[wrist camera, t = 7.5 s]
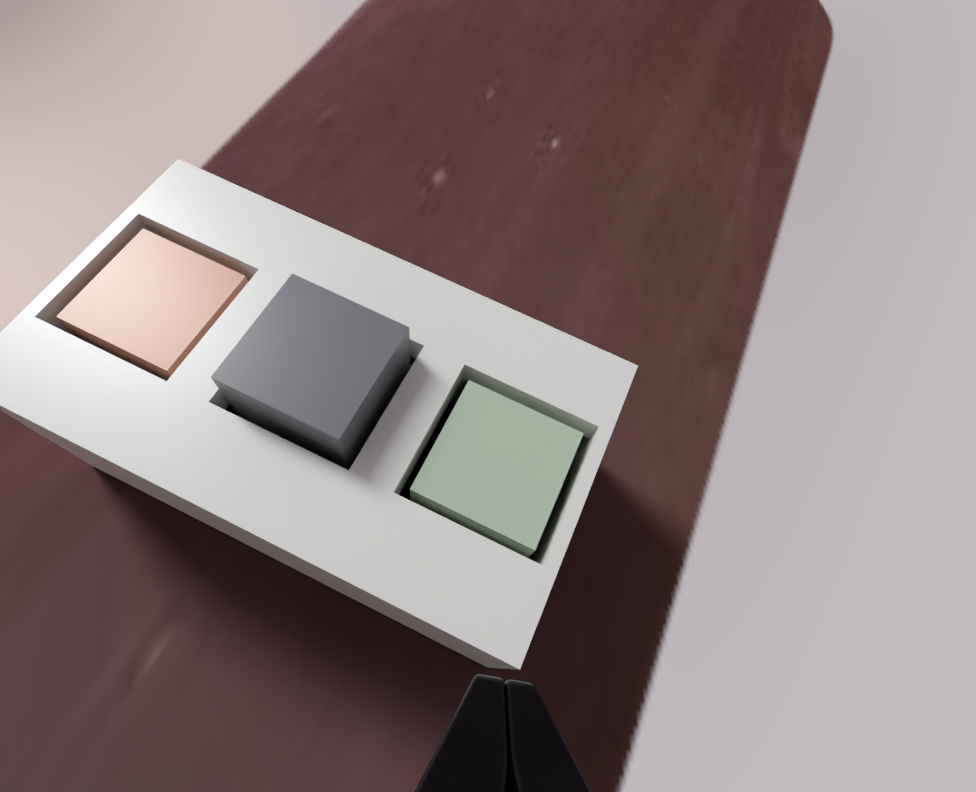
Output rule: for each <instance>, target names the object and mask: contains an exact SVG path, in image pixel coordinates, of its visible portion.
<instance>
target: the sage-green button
mask: <svg viewBox="0 0 976 792" xmlns="http://www.w3.org/2000/svg"><path fill="white" fill-rule="evenodd" d="M583 434H584V433H582V432H580V431H578V430H576V429H574V428H571V427H569V426H567V425H565V424H563V423H561V422H559V421H556V420H554V419H552V418H550V417H548V416H546V415H544V414H541V413H539V412H537V411H535V410H533V409H531V408H528V407H526V406H524V405H522V404H520V403H518V402H516V401H513V400H511V399H509V398H507V397H505V396H503V395H500V394H498V393H496V392H494V391H492V390H490V389H488V388H485V387H483V386H481V385H479V384H477V383H475V382H473V381H470V380H469V381H468V382H467V384H466V386H465V388H464V390H463V392H462V394H461V395H460V397H459V399H458V401H457V403H456V405H455V406H454V408H453V410H452V412H451V414H450V416H449V418H448V419H447V421H446V423H445V425H444V427H443V429H442V430H441V432H440V434H439V436H438V438H437V440H436V442H435V443H434V445H433V447H432V449H431V451H430V453H429V454H428V456H427V458H426V460H425V462H424V464H423V466H422V467H421V469H420V471H419V473H418V475H417V477H416V478H415V480H414V482H413V484H412V486H411V488H410V501H412V502H414V503H416V504H418V505H420V506H422V507H424V508H426V509H429V510H431V511H433V512H435V513H437V514H439V515H441V516H443V517H445V518H447V519H449V520H451V521H453V522H455V523H457V524H459V525H461V526H463V527H465V528H467V529H469V530H471V531H473V532H476V533H478V534H480V535H482V536H484V537H486V538H488V539H490V540H492V541H494V542H496V543H498V544H500V545H502V546H504V547H506V548H508V549H510V550H512V551H514V552H516V553H518V554H520V555H523V556H525V557H527V558H528V557H529V556H530V555H531V554H532V553H533V552H534V551H535V550H536V548H537V545H538V543H539V540H540V538H541V536H542V533H543V531H544V528H545V526H546V523H547V521H548V519H549V516H550V514H551V511H552V509H553V507H554V504H555V502H556V499H557V497H558V494H559V492H560V490H561V487H562V485H563V482H564V480H565V477H566V475H567V473H568V470H569V468H570V465H571V463H572V461H573V458H574V456H575V453H576V451H577V448H578V446H579V444H580V441H581V439H582V436H583Z"/></svg>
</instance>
